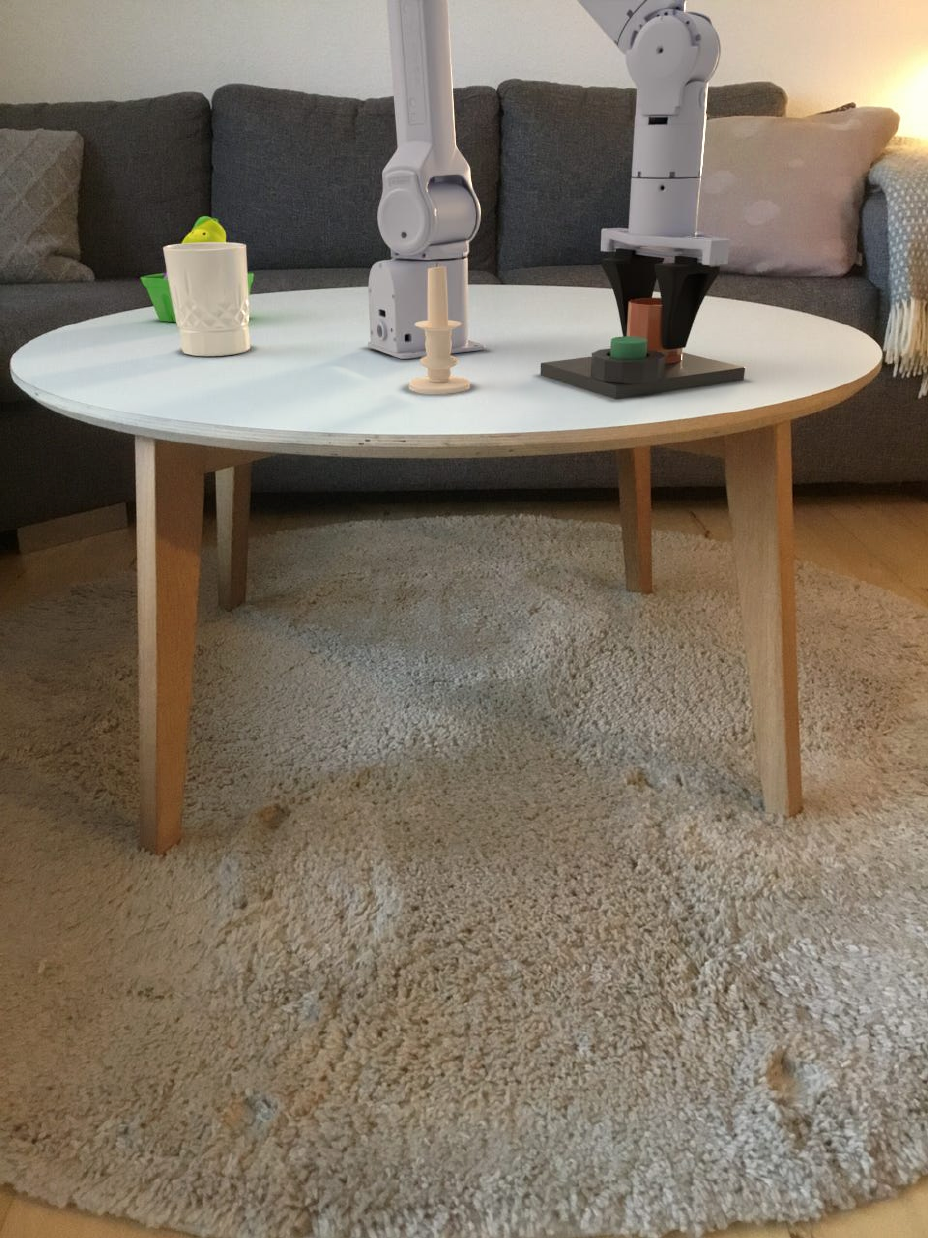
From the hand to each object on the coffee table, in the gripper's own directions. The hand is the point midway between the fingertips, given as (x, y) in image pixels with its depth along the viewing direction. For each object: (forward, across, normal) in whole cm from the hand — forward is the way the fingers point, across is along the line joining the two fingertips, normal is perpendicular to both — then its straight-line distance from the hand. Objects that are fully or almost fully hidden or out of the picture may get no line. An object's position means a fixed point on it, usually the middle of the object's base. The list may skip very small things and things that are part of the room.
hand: (654, 343), depth 90 cm
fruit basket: (+3, +52, +26) cm, 58 cm away
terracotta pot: (+1, 0, 0) cm, 1 cm away
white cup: (+3, +32, +30) cm, 44 cm away
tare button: (0, -5, +6) cm, 8 cm away
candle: (+3, +4, +20) cm, 20 cm away
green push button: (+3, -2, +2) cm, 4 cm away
